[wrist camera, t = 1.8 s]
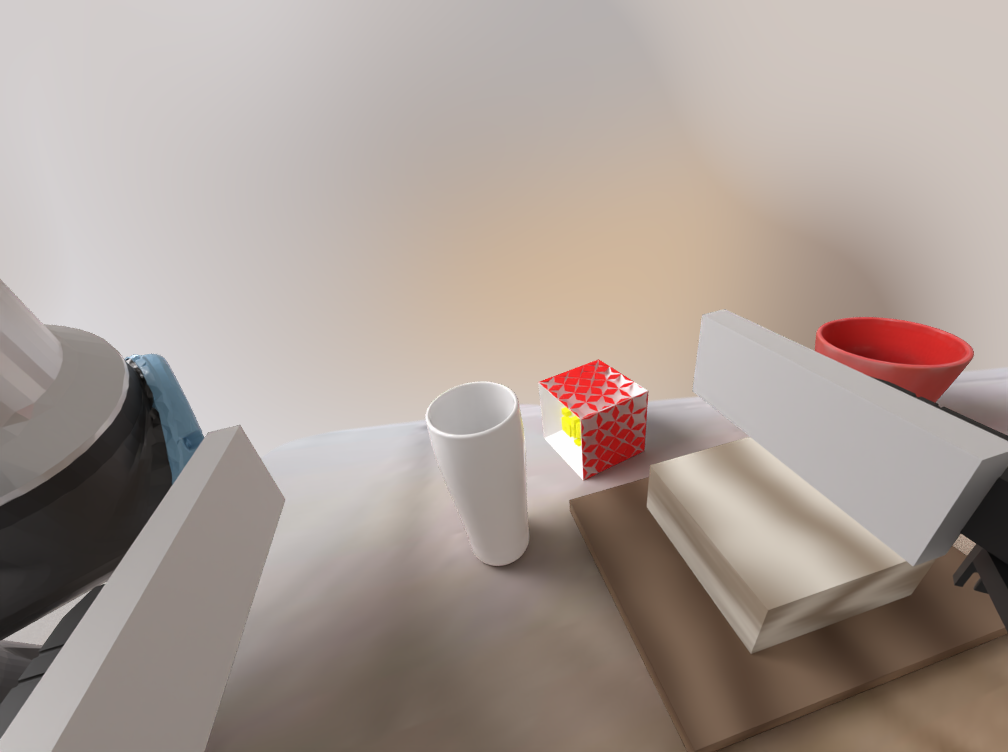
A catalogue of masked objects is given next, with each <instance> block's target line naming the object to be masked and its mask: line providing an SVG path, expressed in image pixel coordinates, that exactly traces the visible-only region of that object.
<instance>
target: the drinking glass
mask: <svg viewBox="0 0 1008 752" xmlns="http://www.w3.org/2000/svg"><path fill="white" fill-rule="evenodd" d="M425 420H426V424H427V428H428V433H429V437H430V441H431V445H432V449H433V452H434V455H435V458H436V461H437V464H438V467H439V469H440V472H441V474H442V477H443V479H444V482H445V484H446V486H447V489H448V491H449V493H450V496H451V498H452V500H453V503H454V505H455V507H456V510H457V512H458V514H459V517H460V519H461V522H462V524H463V526H464V529H465V531H466V534H467V536H468V539H469V543H470V546H471V549H472V551H473V553H474V555H475V556H476V557H477V558H478V559H479V560H480V561H482V562H484V563H486V564H488V565H492V566H503V565H507V564H510V563H512V562H514V561H516V560H517V559H518V558H519V557H521V556H522V554H523V553H524V552H525V550H526V548H527V546H528V543H529V538H530V532H529V525H528V512H527V477H526V447H525V436H524V428H523V422H522V417H521V412H520V407H519V401H518V398H517V396H516V394H515V393H514V392H513V391H512V390H511V389H510V388H508V387H506V386H504V385H502V384H499V383H494V382H471V383H466V384H462V385H459V386H456V387H453V388H451V389H449V390H447V391H445V392H443V393H442V394H440V395H439V396H438V397H436V398H435V399H434V400H433V401H432V403H431V404H430V405H429V407H428V409H427V411H426V416H425Z"/></svg>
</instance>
